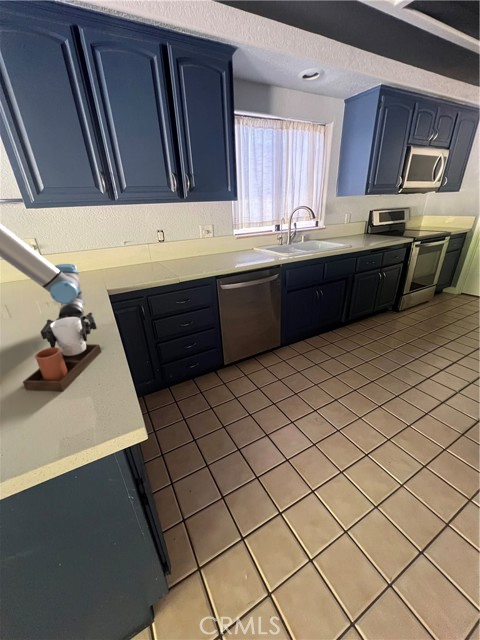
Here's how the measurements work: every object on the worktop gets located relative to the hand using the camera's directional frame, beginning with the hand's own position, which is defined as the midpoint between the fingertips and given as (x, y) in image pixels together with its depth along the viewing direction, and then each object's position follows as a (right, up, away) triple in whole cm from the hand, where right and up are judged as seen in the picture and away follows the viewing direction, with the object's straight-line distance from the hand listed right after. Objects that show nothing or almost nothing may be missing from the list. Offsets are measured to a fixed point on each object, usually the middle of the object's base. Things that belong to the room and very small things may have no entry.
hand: (68, 340), depth 78 cm
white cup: (-2, -4, +6) cm, 8 cm away
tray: (-2, -9, +4) cm, 10 cm away
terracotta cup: (-3, -11, -1) cm, 12 cm away
